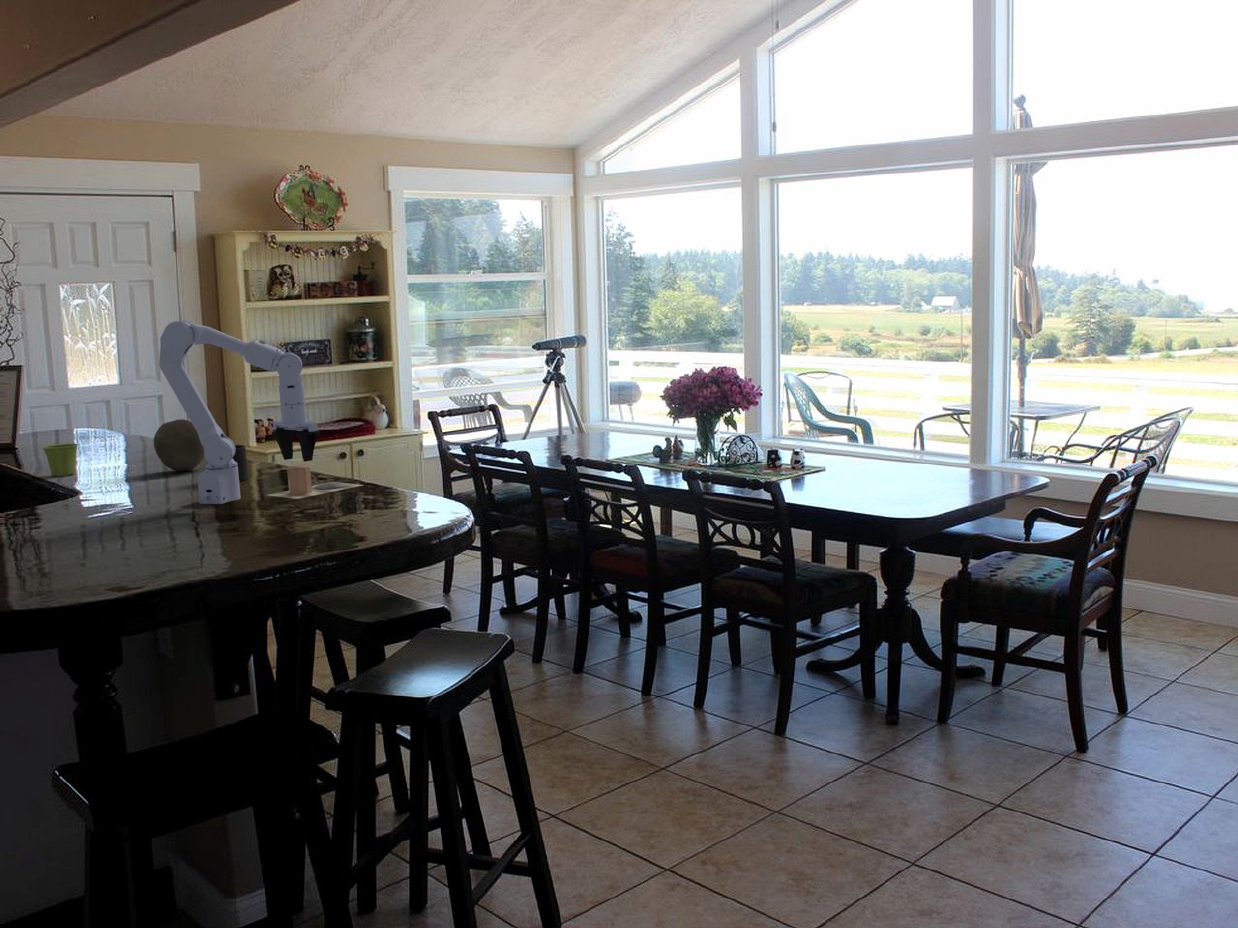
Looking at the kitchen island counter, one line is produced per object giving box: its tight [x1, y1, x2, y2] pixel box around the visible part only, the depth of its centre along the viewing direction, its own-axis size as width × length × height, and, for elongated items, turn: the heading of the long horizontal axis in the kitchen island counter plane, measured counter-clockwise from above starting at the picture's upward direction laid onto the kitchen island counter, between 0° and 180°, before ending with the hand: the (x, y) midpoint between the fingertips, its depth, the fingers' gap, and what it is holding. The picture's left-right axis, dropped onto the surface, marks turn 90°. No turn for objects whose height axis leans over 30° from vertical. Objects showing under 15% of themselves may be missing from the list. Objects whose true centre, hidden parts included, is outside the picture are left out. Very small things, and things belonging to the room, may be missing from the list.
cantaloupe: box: [153, 418, 205, 472], centre depth 334 cm, size 14×14×15 cm
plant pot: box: [42, 443, 79, 477], centre depth 339 cm, size 9×9×9 cm
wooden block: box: [286, 464, 313, 495], centre depth 281 cm, size 5×5×6 cm
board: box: [267, 481, 364, 500], centre depth 285 cm, size 20×12×1 cm, turn 142°
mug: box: [232, 444, 249, 483], centre depth 314 cm, size 9×12×9 cm
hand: (298, 460), depth 281 cm, fingers open, 7 cm apart
